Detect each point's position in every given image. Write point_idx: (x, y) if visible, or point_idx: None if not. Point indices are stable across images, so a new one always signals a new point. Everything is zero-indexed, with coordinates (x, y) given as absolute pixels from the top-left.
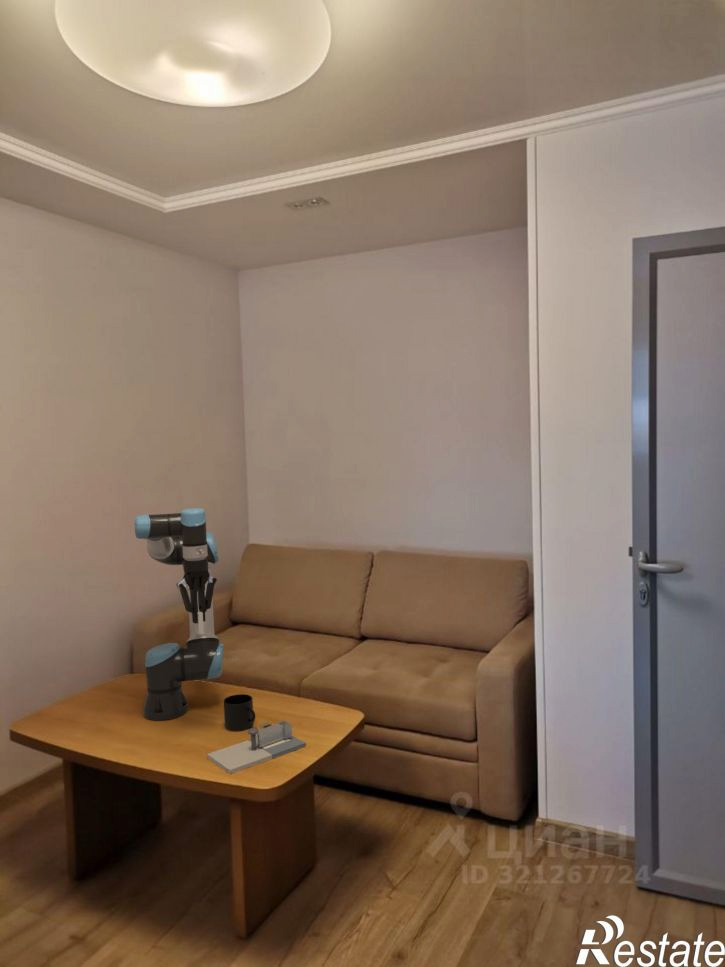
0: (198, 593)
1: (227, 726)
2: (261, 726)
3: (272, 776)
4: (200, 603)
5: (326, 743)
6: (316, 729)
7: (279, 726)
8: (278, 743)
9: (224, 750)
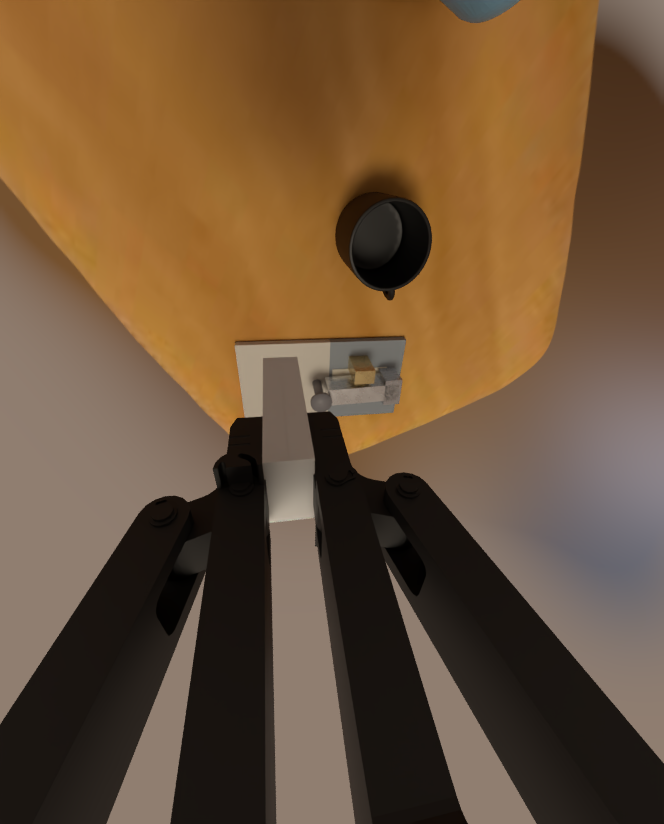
0: (353, 736)
1: (336, 241)
2: (354, 376)
3: None
4: (325, 581)
5: (419, 417)
6: (452, 366)
7: (377, 398)
8: None
9: (271, 353)
